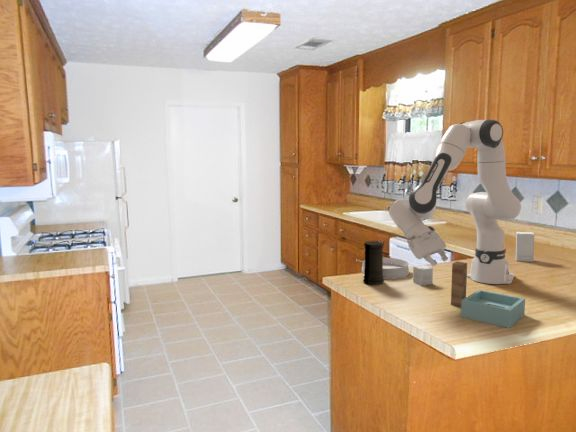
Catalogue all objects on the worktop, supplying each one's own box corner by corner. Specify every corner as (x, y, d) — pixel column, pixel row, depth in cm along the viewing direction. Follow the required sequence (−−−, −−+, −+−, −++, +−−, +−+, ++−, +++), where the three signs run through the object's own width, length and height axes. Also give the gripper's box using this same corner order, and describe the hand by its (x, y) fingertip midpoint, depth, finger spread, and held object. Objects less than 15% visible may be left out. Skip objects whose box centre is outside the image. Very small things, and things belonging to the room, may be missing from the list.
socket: (478, 305, 171) (479, 289, 170) (524, 314, 160) (525, 298, 159) (461, 316, 159) (461, 300, 159) (509, 328, 149) (510, 310, 148)
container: (384, 280, 205) (385, 241, 203) (383, 286, 197) (383, 245, 194) (364, 279, 208) (364, 240, 205) (362, 284, 199) (362, 244, 197)
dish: (383, 264, 234) (383, 255, 233) (418, 273, 216) (418, 263, 216) (352, 272, 221) (352, 262, 220) (387, 282, 203) (387, 271, 203)
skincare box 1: (424, 280, 204) (424, 264, 203) (432, 284, 198) (433, 267, 197) (412, 282, 202) (413, 266, 201) (421, 285, 196) (421, 269, 195)
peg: (455, 301, 175) (456, 261, 173) (465, 304, 172) (467, 263, 170) (450, 304, 172) (452, 263, 170) (461, 306, 169) (462, 265, 167)
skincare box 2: (532, 259, 238) (534, 231, 236) (533, 262, 233) (535, 233, 231) (514, 258, 241) (516, 231, 239) (515, 261, 236) (516, 233, 234)
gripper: (410, 233, 171) (434, 262, 166) (435, 226, 186) (457, 253, 180) (399, 243, 175) (422, 272, 169) (424, 235, 189) (446, 262, 184)
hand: (440, 262), depth 175 cm, fingers open, 8 cm apart
